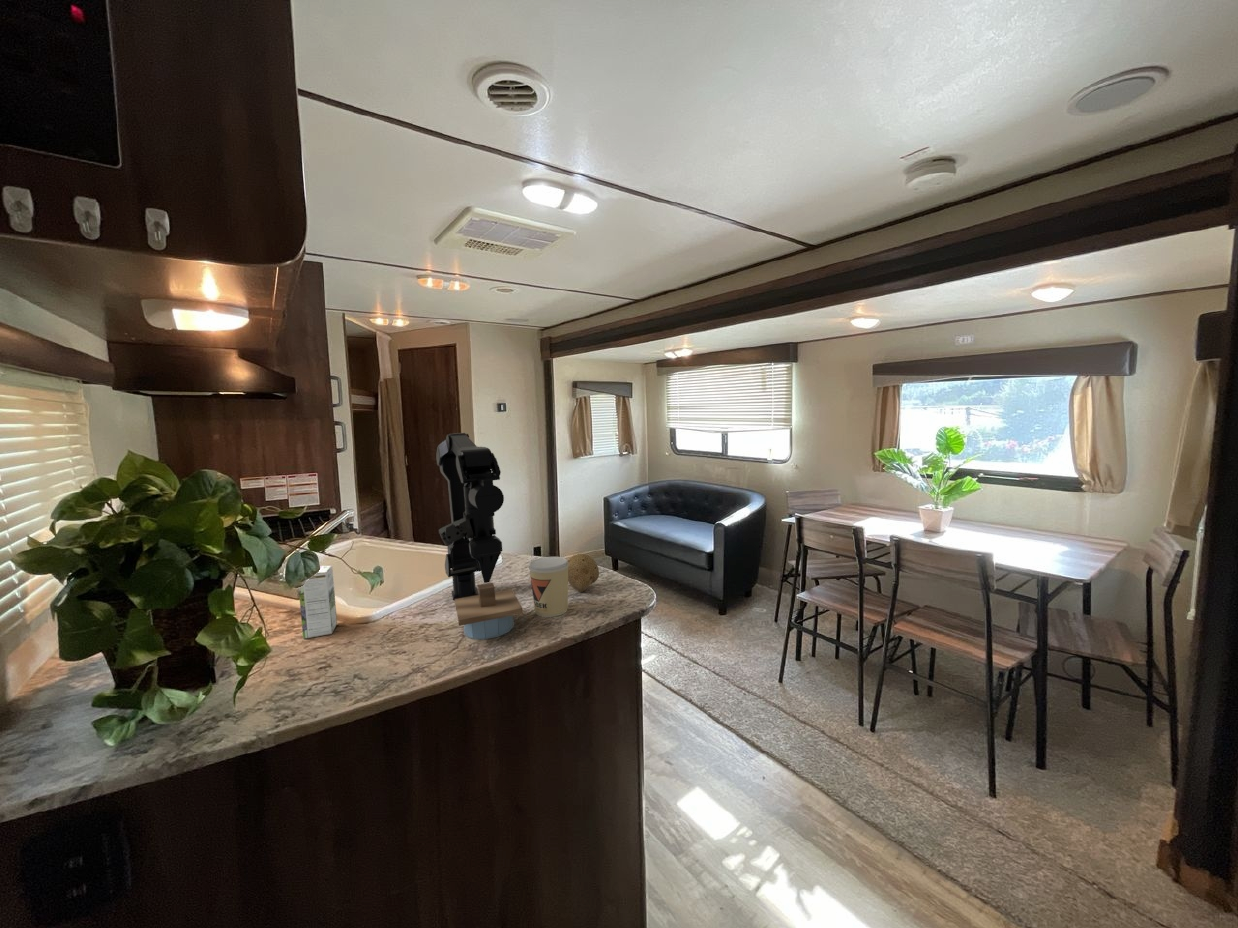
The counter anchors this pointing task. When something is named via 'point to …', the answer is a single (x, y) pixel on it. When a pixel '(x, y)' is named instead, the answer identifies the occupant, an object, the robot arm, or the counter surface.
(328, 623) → the syrup box
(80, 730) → the counter surface
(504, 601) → the cover board
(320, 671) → the counter surface
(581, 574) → the natural sponge
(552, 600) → the coffee cup
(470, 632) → the bowl
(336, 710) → the counter surface
